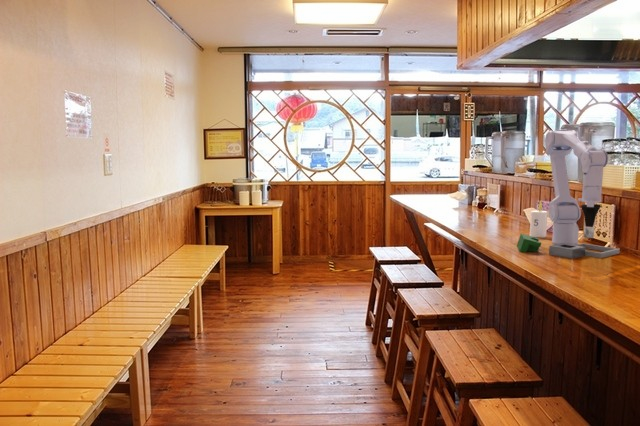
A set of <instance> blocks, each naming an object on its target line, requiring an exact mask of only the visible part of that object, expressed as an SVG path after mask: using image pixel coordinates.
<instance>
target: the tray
mask: <svg viewBox="0 0 640 426" xmlns="http://www.w3.org/2000/svg"><path fill="white" fill-rule="evenodd" d="M577 246H583V247H585V256H586V257H591V258H598V259H603V258H606V257H610V256H615V255H619V254H620V248H616V247H610V246H602V245H596V244H590V243H583V242H582V243H578V244H577ZM587 249H588V250H587ZM591 250H594V251H591ZM596 251H597V252H596ZM598 251H600V252H598Z"/></svg>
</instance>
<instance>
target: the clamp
mask: <svg viewBox="0 0 640 426" xmlns="http://www.w3.org/2000/svg"><path fill="white" fill-rule="evenodd" d="M539 239H540V238H539V237H532V236H530V234H529V235H528V234H526V233H525V234H524V233H520V235H519V239H518V241H517V245H516V247H517V250H518V252H519V253H527V252H539V250H540V247H541V246H542V241H540V240H539Z"/></svg>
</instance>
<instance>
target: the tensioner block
mask: <svg viewBox="0 0 640 426" xmlns="http://www.w3.org/2000/svg"><path fill="white" fill-rule="evenodd" d="M548 248H549V249H548V255H549V256H556V257H559V258H566V259H572V260H573V259H577V258H582V257H585V256H586V255H585V250H586V248H585V247H583V246H577V245H573V244H572V245H571V244H565V243H561V244H551V245H549V246H548Z"/></svg>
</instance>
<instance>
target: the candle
mask: <svg viewBox="0 0 640 426" xmlns="http://www.w3.org/2000/svg"><path fill="white" fill-rule="evenodd" d="M542 208H543V202H542V200H540V201H539V203H538V210H531V211H530V225H529V226H530V227H529V236H532V237H536V238H546V237H547V227H548V214H549V211H548V210H547V211H546V210H543V209H542Z"/></svg>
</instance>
